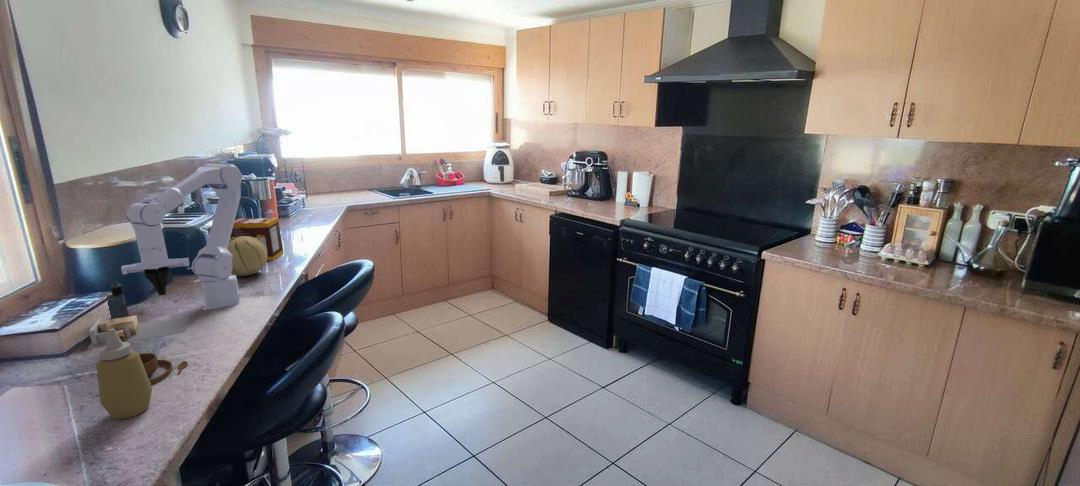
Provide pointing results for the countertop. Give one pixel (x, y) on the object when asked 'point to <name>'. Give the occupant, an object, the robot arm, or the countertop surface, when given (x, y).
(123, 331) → the plunger
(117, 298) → the vaping device
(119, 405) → the squeeze bottle
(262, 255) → the cantaloupe
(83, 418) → the countertop surface
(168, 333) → the socket board
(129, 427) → the countertop surface
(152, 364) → the place setting
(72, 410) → the countertop surface
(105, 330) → the peg
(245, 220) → the supplement box
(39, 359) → the countertop surface
